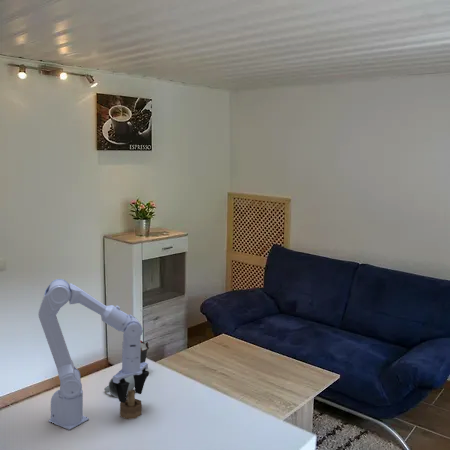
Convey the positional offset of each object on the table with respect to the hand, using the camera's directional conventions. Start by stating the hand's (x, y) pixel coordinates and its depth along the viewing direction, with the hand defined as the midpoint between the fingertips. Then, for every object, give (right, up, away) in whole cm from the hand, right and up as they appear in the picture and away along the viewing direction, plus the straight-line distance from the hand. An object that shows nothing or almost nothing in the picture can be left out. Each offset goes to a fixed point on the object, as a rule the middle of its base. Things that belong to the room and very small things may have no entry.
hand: (130, 397), depth 154 cm
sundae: (-3, -3, +33) cm, 34 cm away
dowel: (0, -6, 0) cm, 6 cm away
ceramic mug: (-7, -4, +15) cm, 18 cm away
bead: (0, -6, 0) cm, 6 cm away
